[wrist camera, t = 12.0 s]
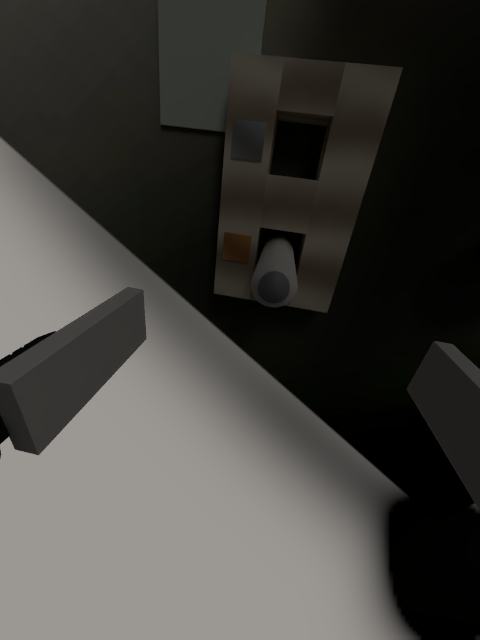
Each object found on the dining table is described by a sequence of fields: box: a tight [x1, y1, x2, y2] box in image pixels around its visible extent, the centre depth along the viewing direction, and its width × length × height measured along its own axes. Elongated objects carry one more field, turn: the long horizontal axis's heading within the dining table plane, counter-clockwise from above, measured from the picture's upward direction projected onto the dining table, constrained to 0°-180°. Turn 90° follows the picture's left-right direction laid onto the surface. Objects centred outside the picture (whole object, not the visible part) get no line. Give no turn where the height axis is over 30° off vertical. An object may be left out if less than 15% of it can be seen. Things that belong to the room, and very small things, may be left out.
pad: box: [158, 0, 267, 132], centre depth 25 cm, size 10×10×1 cm
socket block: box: [214, 52, 403, 313], centre depth 28 cm, size 22×14×4 cm, turn 173°
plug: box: [251, 234, 298, 307], centre depth 26 cm, size 4×4×15 cm
